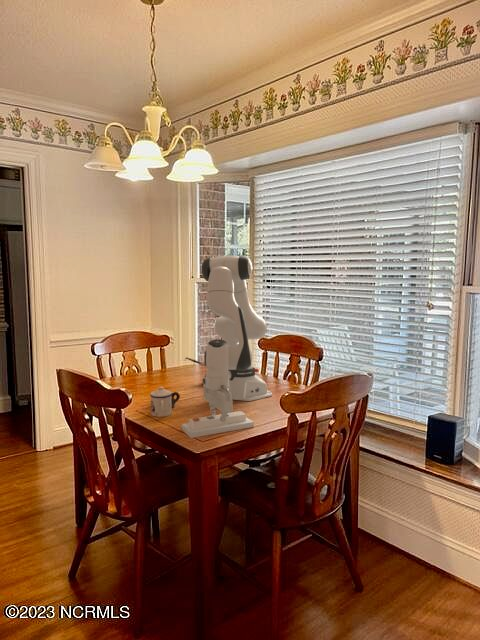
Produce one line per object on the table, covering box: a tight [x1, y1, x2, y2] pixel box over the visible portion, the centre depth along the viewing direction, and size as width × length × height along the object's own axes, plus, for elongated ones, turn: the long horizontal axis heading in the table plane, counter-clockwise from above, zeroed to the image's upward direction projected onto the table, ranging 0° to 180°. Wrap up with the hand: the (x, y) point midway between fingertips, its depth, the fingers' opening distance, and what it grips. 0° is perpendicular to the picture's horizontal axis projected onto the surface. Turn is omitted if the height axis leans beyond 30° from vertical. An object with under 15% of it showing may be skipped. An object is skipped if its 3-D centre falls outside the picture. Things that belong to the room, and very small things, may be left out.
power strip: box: [188, 410, 247, 429], centre depth 175 cm, size 22×4×5 cm, turn 116°
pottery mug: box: [171, 391, 181, 408], centre depth 204 cm, size 12×10×8 cm
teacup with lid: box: [149, 386, 173, 418], centre depth 190 cm, size 12×9×12 cm
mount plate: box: [181, 416, 255, 439], centre depth 175 cm, size 26×10×2 cm, turn 116°
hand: (218, 417), depth 175 cm, fingers open, 8 cm apart
